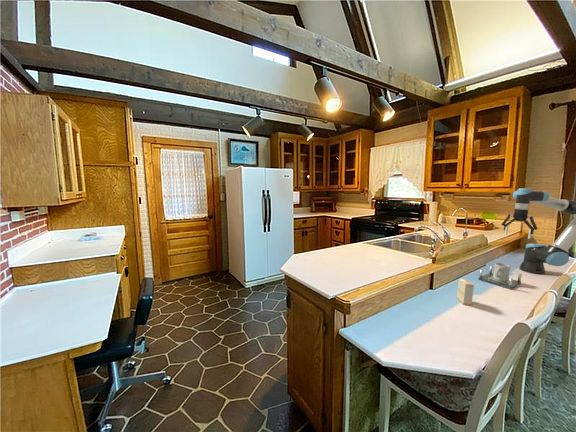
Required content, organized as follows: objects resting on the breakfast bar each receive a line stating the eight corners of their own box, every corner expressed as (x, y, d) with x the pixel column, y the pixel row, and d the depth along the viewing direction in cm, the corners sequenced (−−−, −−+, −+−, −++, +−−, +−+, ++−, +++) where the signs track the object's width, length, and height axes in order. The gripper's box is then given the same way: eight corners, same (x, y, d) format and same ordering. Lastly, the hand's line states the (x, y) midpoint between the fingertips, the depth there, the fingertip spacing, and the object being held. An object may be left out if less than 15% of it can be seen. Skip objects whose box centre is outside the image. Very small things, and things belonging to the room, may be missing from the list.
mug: (496, 275, 186) (498, 262, 184) (510, 280, 178) (512, 265, 177) (488, 278, 180) (490, 264, 178) (503, 283, 172) (505, 268, 171)
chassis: (489, 274, 192) (490, 265, 191) (521, 283, 176) (522, 274, 175) (478, 279, 182) (479, 270, 181) (510, 289, 166) (512, 279, 165)
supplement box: (471, 305, 144) (474, 284, 142) (462, 304, 145) (465, 283, 143) (464, 298, 152) (467, 279, 150) (456, 298, 153) (458, 278, 151)
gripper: (498, 207, 191) (494, 233, 194) (543, 211, 170) (538, 240, 173) (502, 207, 195) (498, 232, 198) (546, 210, 174) (541, 239, 177)
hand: (517, 236), depth 186 cm, fingers open, 13 cm apart
